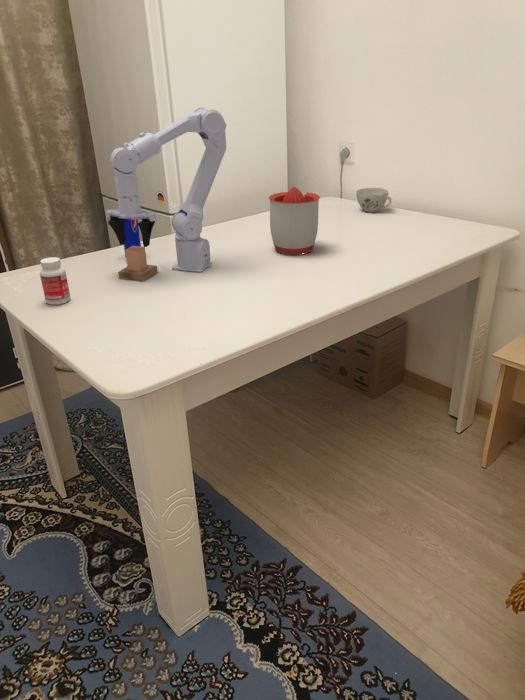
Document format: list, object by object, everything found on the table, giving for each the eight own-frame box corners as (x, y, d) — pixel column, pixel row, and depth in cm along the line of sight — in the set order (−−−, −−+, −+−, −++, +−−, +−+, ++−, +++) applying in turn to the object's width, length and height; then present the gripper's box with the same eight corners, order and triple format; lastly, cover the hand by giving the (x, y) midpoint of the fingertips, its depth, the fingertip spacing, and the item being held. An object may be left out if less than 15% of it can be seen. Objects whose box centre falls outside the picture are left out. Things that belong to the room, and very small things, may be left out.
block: (147, 267, 159) (144, 246, 156) (140, 271, 155) (137, 251, 153) (135, 265, 160) (132, 245, 157) (127, 270, 157) (125, 249, 154)
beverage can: (138, 260, 170) (132, 212, 164) (122, 260, 171) (116, 211, 165) (144, 255, 175) (139, 208, 168) (129, 254, 176) (123, 207, 169)
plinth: (157, 272, 161) (157, 265, 160) (143, 281, 154) (142, 274, 153) (133, 269, 163) (133, 263, 162) (119, 278, 156) (118, 271, 155)
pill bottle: (69, 304, 140) (61, 262, 135) (44, 306, 139) (35, 264, 134) (71, 295, 146) (64, 255, 141) (47, 297, 144) (38, 257, 139)
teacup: (348, 211, 221) (349, 191, 217) (366, 206, 229) (368, 186, 225) (380, 217, 211) (382, 196, 208) (398, 211, 219) (400, 190, 216)
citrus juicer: (322, 242, 183) (323, 181, 174) (314, 259, 168) (316, 192, 159) (276, 240, 187) (275, 180, 177) (264, 256, 172) (263, 191, 162)
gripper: (96, 197, 147) (104, 246, 153) (144, 200, 142) (150, 251, 149) (111, 191, 153) (118, 239, 159) (157, 194, 148) (162, 243, 155)
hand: (134, 244), depth 154 cm, fingers open, 7 cm apart
